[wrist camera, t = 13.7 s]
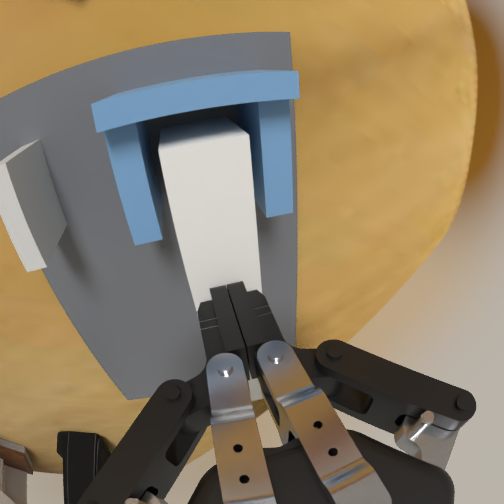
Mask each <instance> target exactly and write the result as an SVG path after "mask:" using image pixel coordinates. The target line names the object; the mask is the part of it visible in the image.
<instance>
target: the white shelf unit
mask: <svg viewBox="0 0 504 504" xmlns="http://www.w3.org/2000/svg"><path fill="white" fill-rule="evenodd" d="M27 473H29V474H33V464H32V462H31V460H30V457H29V455H28V453H27V451H26V448H25V447H24V446H21V445H18V444H14V443H11V442H8V441H5V440H3V439H0V504H27Z"/></svg>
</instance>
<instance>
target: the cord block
mask: <svg viewBox="0 0 504 504" xmlns="http://www.w3.org/2000/svg"><path fill="white" fill-rule="evenodd" d="M158 152H159V157H160V162H161V167H162V172H163V177H164V182H165V187H166V191H167V196H168V200H169V205H170V209H171V214H172V218H173V222H174V227H175V231H176V235H177V239H178V243H179V247H180V251H181V255H182V259H183V263H184V267H185V271H186V275H187V278H188V282H189V286H190V289H191V293H192V297H193V300H194V304H195V307H196V311H198V308H199V305H200V302H205V301H209V300H212V298H211V294H210V289H209V288H213V287H218V286H222V285H226V288H227V284H231V283H235V282H240V281H243V283H244V285H245V288H246V290H247V292H248V291H252V290H258V291H259V292H261V293H262V286H261V273H260V261H259V248H258V235H257V223H256V211H255V199H254V186H253V174H252V162H251V151H250V139H249V134H247V133H246V132H245V131H244V130H242V129H241V128H240V127H239V126H237V125H236V124H235V123H234V122H232V121H231V120H230V119H228V118H227V117H222V118H215V119H209V120H202V121H197V122H191V123H185V124H180V125H175V126H170V127H165V128H161V132H160V140H159V149H158ZM197 314H198V313H197ZM249 374H250V372H249ZM248 383H249V389H250V397H251V402H252V401H256V400H259V399H263V396H262V393H261V387H260V384H259V381H258V378H255V379H252V378H251V375H250V380H248Z"/></svg>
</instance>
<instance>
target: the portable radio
mask: <svg viewBox="0 0 504 504" xmlns="http://www.w3.org/2000/svg"><path fill="white" fill-rule="evenodd" d="M57 453H58V454H59V455H60V456H61V457H62V458H63V486H64V504H77V503H78V501H79V499H80V498H81V497H82V495H83V494H84V492H85V491H86V489H87V488H88V487H89V485H90V484H91V482H92V481H93V479H94V478H95V477H96V475H97V474H98V472H99V471H100V470H101V468H102V467H103V465H104V464H105V462H106V461H107V460H108V458H109V457H110V455H111V453H110V451H109V450H108V448H107V446H106V445H105V443H104V442H103V440H102V439H100V437H99V436H98V435H97V434H93V433H79V432H59V433H58V437H57Z"/></svg>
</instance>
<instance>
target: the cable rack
mask: <svg viewBox="0 0 504 504" xmlns="http://www.w3.org/2000/svg"><path fill="white" fill-rule="evenodd" d="M294 99H300V94H299V75H298V71H292V55H291V41H290V32H252V33H235V34H222V35H212V36H204V37H196V38H189V39H182V40H176V41H170V42H164V43H159V44H154V45H149V46H145V47H140V48H136V49H132V50H128V51H124V52H120V53H116V54H112V55H109V56H105V57H102V58H99V59H95V60H92V61H89V62H86V63H83V64H80V65H77V66H74V67H71V68H69V69H66V70H63V71H60V72H58V73H55V74H53V75H50V76H48V77H45V78H43V79H41V80H38V81H36V82H34V83H31V84H29V85H27V86H25V87H23V88H20V89H18V90H16V91H14V92H12V93H10V94H8V95H6V96H4V97H2V98H0V215H1V217H2V220H3V222H4V224H5V227H6V229H7V231H8V234H9V236H10V238H11V240H12V242H13V245H14V247H15V249H16V251H17V253H18V255H19V257H20V259H21V261H22V263H23V265H24V267H25V269H26V271H27V272H30V271H34V270H38V269H42V271H43V273H44V275H45V276H46V278H47V280H48V282H49V284H50V286H51V288H52V289H53V291H54V293H55V295H56V297H57V298H58V300H59V302H60V304H61V305H62V307H63V309H64V310H65V312H66V314H67V315H68V317H69V319H70V320H71V322H72V323H73V325H74V327H75V328H76V330H77V331H78V333H79V334H80V336H81V337H82V339H83V340H84V342H85V343H86V345H87V346H88V348H89V349H90V351H91V352H92V354H93V355H94V356H95V358H96V359H97V361H98V362H99V363H100V365H101V366H102V368H103V369H104V370H105V372H106V373H107V374H108V376H109V377H110V378H111V380H112V381H113V382H114V383H115V385H116V386H117V387H118V389H119V390H120V391H121V392H122V394H123V395H124V396H125V397H126V398H127V400H133V399H141V398H147V397H152V395H153V394H154V393H155V391H156V390H157V388H158V387H159V386H160V385H161V384H162V383H163V382H165V381H167V380H171V379H179V380H183V381H185V382H186V381H188V380H190V379H192V378H194V377H196V376H197V375H199V374H200V373H201V372H202V371H203V369H204V367H205V365H206V354H205V349H204V344H203V339H202V334H201V329H200V324H199V319H198V314H197V311H196V307H195V304H194V300H193V297H192V293H191V289H190V286H189V282H188V278H187V275H186V271H185V267H184V263H183V259H182V255H181V251H180V247H179V243H178V239H177V235H176V231H175V227H174V222H173V218H172V214H171V209H170V205H169V200H168V196H167V191H166V187H165V182H164V177H163V172H162V167H161V162H160V157H159V152H158V149H159V140H160V132H161V128H165V127H170V126H175V125H180V124H185V123H191V122H197V121H202V120H209V119H215V118H222V117H227V118H228V119H230V120H231V121H232V122H234V123H235V124H236V125H237V126H239V127H240V128H241V129H242V130H244V131H245V132H246V133H247V134H249V139H250V151H251V162H252V174H253V186H254V199H255V211H256V223H257V235H258V248H259V261H260V273H261V286H262V294H263V295H264V296H265V298H266V300H267V302H268V304H269V307H270V309H271V311H272V313H273V316H274V318H275V320H276V322H277V324H278V327H279V329H280V331H281V333H282V336H283V338H284V340H285V341H286V342H287V343H288V344H289V345H291V346H293V347H295V334H296V301H297V164H296V131H295V107H294Z"/></svg>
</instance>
